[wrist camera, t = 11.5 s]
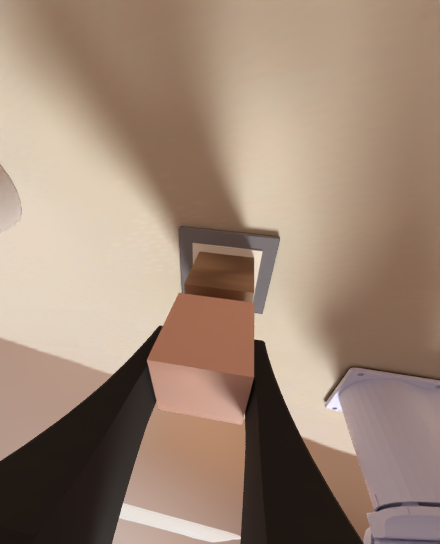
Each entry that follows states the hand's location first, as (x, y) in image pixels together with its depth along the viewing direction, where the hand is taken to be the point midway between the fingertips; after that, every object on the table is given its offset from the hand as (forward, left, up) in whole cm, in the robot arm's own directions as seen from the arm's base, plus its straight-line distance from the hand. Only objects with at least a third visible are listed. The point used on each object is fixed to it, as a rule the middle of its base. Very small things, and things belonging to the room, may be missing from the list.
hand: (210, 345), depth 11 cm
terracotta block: (0, 0, -2) cm, 2 cm away
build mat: (0, 0, -7) cm, 7 cm away
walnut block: (0, 0, -6) cm, 6 cm away
